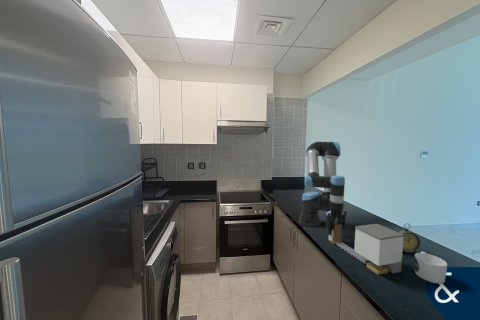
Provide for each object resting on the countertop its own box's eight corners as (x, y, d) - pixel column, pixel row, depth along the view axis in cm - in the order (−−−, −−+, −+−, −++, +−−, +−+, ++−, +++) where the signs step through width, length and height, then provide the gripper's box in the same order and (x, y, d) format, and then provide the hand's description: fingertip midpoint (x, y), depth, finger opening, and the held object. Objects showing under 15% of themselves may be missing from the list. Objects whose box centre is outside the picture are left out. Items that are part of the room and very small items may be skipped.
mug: (451, 287, 82) (453, 268, 82) (419, 280, 86) (421, 262, 86) (434, 268, 95) (435, 252, 94) (407, 263, 99) (408, 248, 98)
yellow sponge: (366, 267, 96) (366, 262, 95) (376, 265, 97) (376, 261, 97) (378, 275, 90) (378, 270, 90) (388, 273, 91) (388, 268, 91)
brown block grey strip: (328, 240, 122) (329, 221, 121) (335, 239, 123) (335, 221, 122) (363, 264, 98) (365, 240, 97) (371, 262, 99) (373, 239, 98)
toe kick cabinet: (353, 260, 101) (355, 226, 100) (375, 256, 105) (377, 223, 104) (377, 277, 88) (380, 238, 87) (401, 271, 92) (404, 234, 91)
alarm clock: (397, 253, 108) (399, 224, 107) (391, 248, 113) (393, 221, 112) (419, 255, 107) (422, 226, 105) (412, 250, 112) (414, 222, 111)
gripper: (328, 204, 112) (326, 244, 114) (354, 202, 117) (351, 240, 119) (319, 200, 119) (317, 238, 121) (344, 199, 124) (342, 235, 126)
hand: (334, 239), depth 120 cm, fingers closed on brown block grey strip, 5 cm apart
